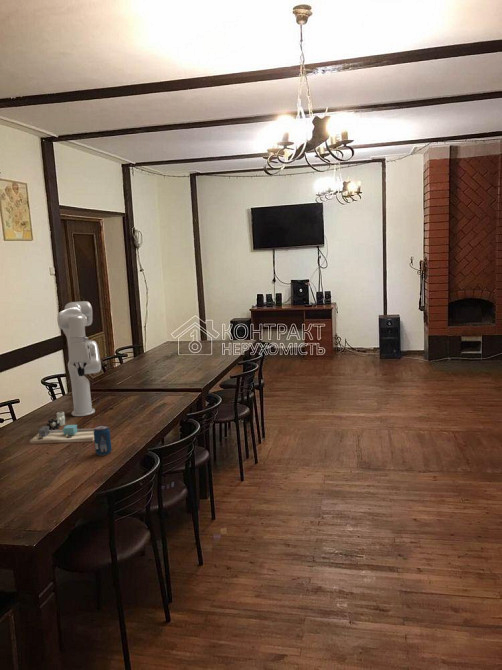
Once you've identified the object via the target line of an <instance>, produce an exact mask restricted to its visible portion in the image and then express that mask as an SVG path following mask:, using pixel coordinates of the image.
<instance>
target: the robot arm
mask: <svg viewBox="0 0 502 670" xmlns="http://www.w3.org/2000/svg"><path fill="white" fill-rule="evenodd" d="M56 319H57V326H58V328H59V329H61V330H62V331H63V334H64V335H65V336H66V339H67V347H68V362H67V369H68V372H69V377H70V383H71V393H72V401H73V410H72V412H71V415H72V416H73V417H84V416H89V415H93V414H94V413H96V409H95V408H93V406H92V405H93V402H92V397H91V389H90V388H91V387H90V386H91V383H90V380H89V379H88V378H87V377H86V376H85V375H90V374H96V373H100V371H101V370H102V362H101V357H100V349H99V346H98V343H97V342H96V341H95V340H89V337H87V335H86V327H89V326H92V324H93V307H92V305H91V303H90V302H89V301H88V300H87V301H85V300H83V301H71V302H68V303H67V304H65V306H64V310H61V311H60V312H58V314H57V317H56Z"/></svg>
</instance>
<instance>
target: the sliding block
mask: <svg viewBox="0 0 502 670" xmlns="http://www.w3.org/2000/svg"><path fill="white" fill-rule="evenodd" d="M77 429H78V424H65V425H64V426H63V428H62V430H63V433H64V435H66V437H68V435H74V434H75V433H76V432H78V431H77Z"/></svg>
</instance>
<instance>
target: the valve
mask: <svg viewBox="0 0 502 670" xmlns="http://www.w3.org/2000/svg"><path fill="white" fill-rule="evenodd" d="M47 422H48V423H46V427H47V426H49V430H60V427H59V426H61V427H62V426H66V415H65V411H58V412H56V418H54V417H52V418H51V419H48V420H47Z"/></svg>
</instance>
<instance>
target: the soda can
mask: <svg viewBox="0 0 502 670" xmlns="http://www.w3.org/2000/svg"><path fill="white" fill-rule="evenodd" d="M94 428H95V430H94V440H93V442H94V450H95V453H96V454H97V456H107V455H110V454H111V452H112V441H111V440H112V439H111V429H110V428H109V425H106V424H101V425H97V426H95V427H94Z"/></svg>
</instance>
